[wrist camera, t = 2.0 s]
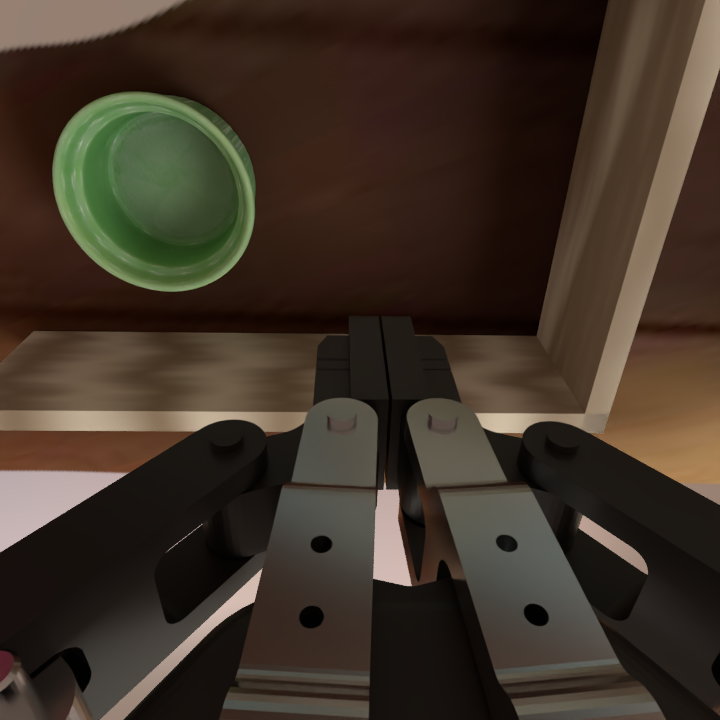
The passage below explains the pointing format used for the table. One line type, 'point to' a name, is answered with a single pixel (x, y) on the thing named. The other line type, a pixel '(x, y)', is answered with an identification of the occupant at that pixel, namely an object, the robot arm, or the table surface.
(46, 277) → the table surface
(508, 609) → the robot arm
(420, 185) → the table surface
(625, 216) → the wooden c-shaped frame
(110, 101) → the ramekin
